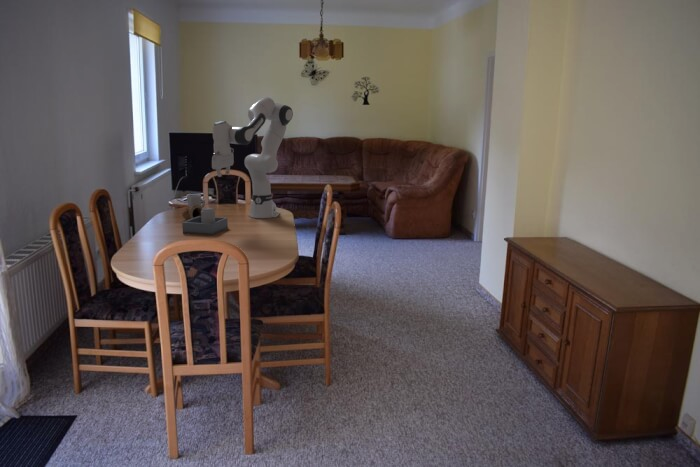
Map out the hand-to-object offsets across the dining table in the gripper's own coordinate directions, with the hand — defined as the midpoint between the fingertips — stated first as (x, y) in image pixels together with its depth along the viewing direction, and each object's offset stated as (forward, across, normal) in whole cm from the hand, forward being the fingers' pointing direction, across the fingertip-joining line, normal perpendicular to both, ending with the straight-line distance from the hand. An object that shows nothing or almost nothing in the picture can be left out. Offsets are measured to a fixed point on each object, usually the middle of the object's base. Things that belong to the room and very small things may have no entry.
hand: (223, 175), depth 315 cm
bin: (+29, -13, +7) cm, 33 cm away
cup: (+30, +31, +37) cm, 57 cm away
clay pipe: (+30, +10, +27) cm, 42 cm away
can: (+28, -13, +5) cm, 32 cm away
